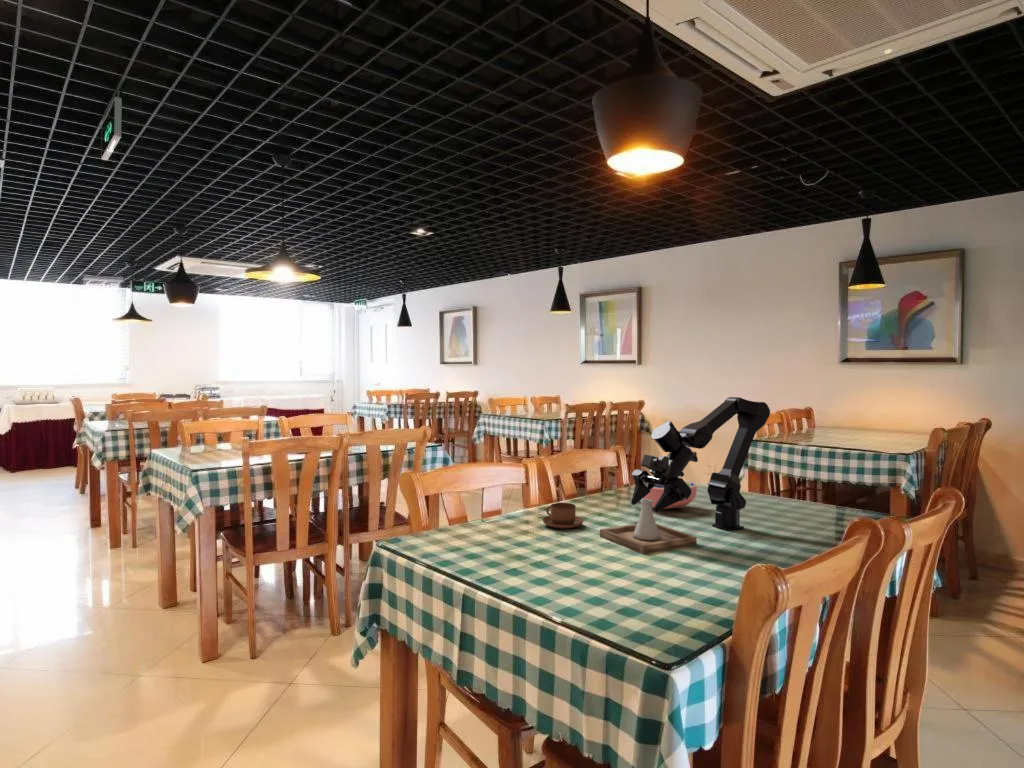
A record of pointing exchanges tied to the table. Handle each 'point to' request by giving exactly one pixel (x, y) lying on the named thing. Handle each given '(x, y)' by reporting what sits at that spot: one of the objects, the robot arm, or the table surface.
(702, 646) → the table surface
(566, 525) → the cup and saucer
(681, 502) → the cell model
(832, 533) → the table surface
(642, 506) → the flask
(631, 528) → the walnut tray
